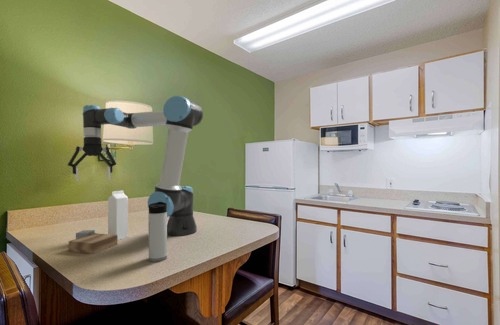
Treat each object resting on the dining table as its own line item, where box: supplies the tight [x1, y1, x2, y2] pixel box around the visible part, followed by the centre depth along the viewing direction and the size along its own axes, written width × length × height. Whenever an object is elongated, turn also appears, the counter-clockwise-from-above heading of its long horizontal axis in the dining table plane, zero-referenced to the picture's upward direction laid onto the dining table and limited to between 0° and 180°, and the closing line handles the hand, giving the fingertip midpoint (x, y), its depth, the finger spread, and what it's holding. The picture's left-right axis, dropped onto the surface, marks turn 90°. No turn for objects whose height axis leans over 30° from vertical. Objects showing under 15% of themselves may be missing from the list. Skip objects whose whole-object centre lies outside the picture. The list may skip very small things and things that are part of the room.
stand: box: [68, 232, 118, 255], centre depth 104 cm, size 12×12×4 cm
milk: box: [107, 189, 129, 241], centre depth 118 cm, size 6×6×22 cm
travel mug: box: [148, 202, 168, 263], centre depth 91 cm, size 6×7×20 cm
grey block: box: [75, 229, 96, 239], centre depth 110 cm, size 5×5×5 cm
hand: (93, 180), depth 125 cm, fingers open, 13 cm apart
